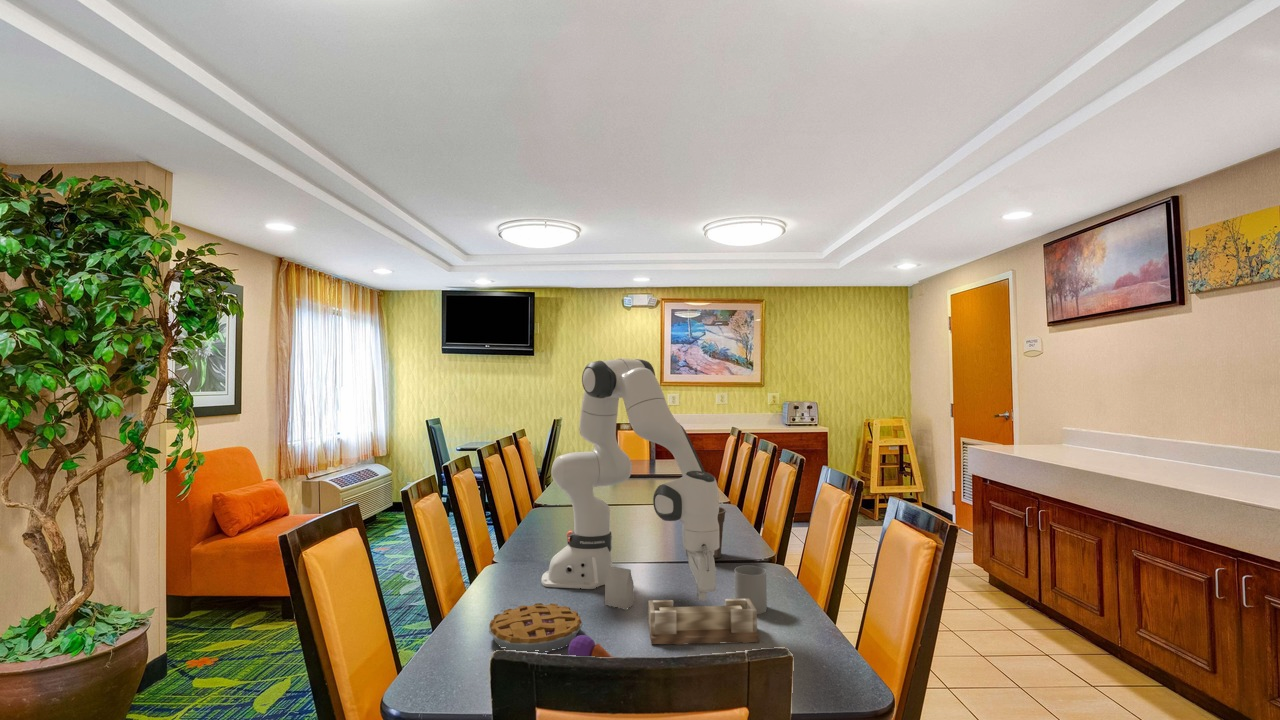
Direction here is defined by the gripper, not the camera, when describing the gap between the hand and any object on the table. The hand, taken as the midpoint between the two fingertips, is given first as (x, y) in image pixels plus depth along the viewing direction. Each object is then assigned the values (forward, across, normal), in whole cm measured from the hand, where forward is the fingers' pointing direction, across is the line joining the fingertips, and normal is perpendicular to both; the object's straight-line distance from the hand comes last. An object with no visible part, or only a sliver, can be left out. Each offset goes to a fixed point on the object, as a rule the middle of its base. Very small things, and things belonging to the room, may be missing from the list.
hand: (701, 598), depth 142 cm
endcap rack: (+8, 0, 0) cm, 8 cm away
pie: (+9, 0, +40) cm, 41 cm away
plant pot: (+8, +64, -10) cm, 66 cm away
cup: (+8, +15, -15) cm, 23 cm away
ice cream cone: (+9, -17, +22) cm, 29 cm away
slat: (+7, 0, 0) cm, 7 cm away
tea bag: (+8, +19, +20) cm, 29 cm away
